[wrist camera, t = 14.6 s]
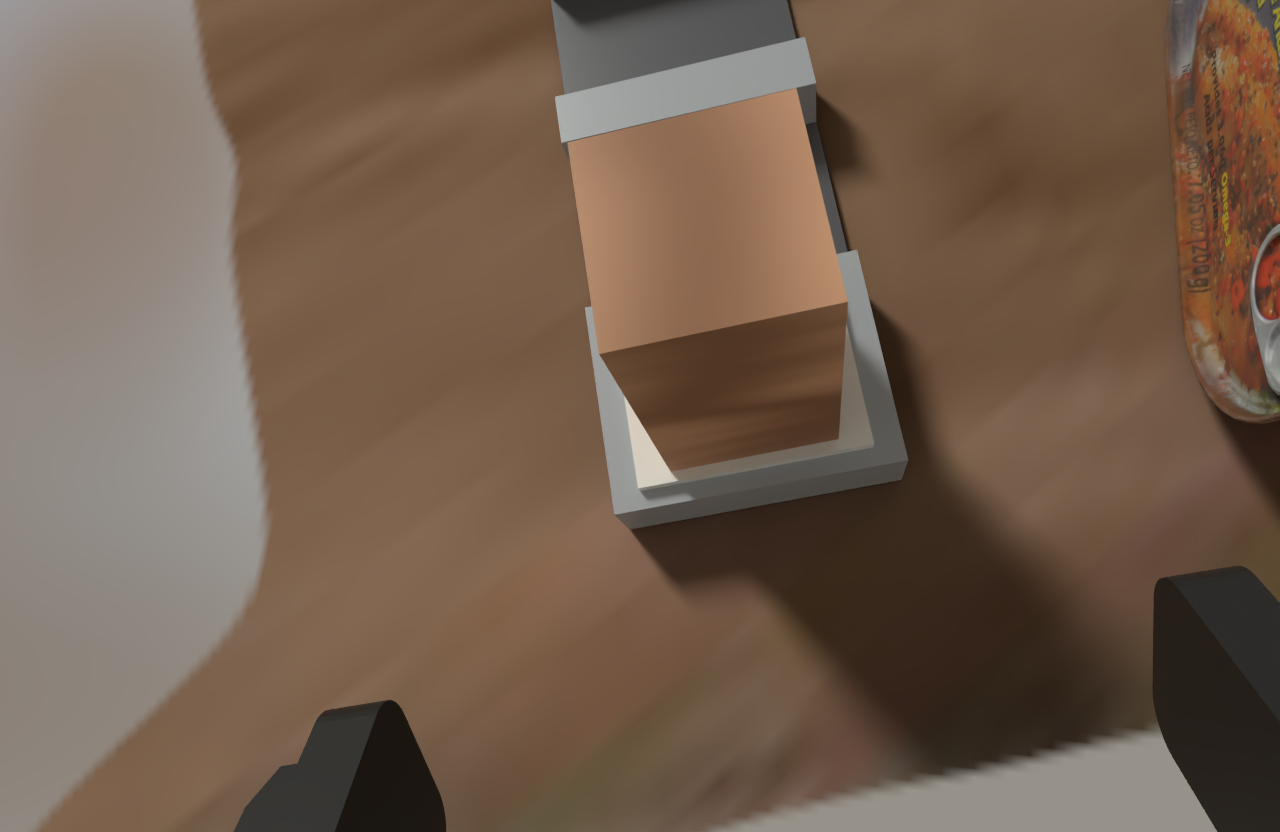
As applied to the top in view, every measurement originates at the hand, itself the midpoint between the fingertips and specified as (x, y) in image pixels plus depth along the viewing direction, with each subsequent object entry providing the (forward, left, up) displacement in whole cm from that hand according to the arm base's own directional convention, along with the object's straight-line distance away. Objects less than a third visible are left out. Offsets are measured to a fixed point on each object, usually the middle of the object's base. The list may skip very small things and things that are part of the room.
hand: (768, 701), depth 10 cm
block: (0, -8, -11) cm, 14 cm away
